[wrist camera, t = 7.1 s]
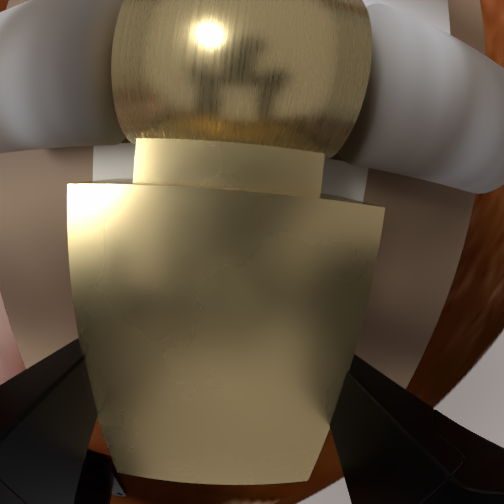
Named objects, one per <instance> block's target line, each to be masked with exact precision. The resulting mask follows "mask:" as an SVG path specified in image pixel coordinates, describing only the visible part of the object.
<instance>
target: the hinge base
mask: <svg viewBox="0 0 504 504" xmlns="http://www.w3.org/2000/svg"><path fill="white" fill-rule="evenodd" d="M123 1H124V0H9V2H8V5H7V8H6V10H5V11H2V12H0V291H1V295H2V299H3V302H4V306H5V309H6V313H7V316H8V319H9V323H10V326H11V329H12V332H13V335H14V338H15V340H16V343H17V346H18V349H19V351H20V354H21V357H22V359H23V362H24V364H25V367H26V369H27V368H29V367H31V366H32V365H34V364H36V363H37V362H39V361H41V360H42V359H44V358H45V357H47V356H49V355H50V354H52V353H54V352H55V351H57V350H59V349H60V348H62V347H64V346H65V345H67V344H69V343H70V342H72V341H74V340H75V339H77V338H79V337H78V331H77V325H76V319H75V312H74V305H73V297H72V288H71V279H70V267H69V253H68V232H67V185H68V184H70V183H79V182H87V181H97V180H107V179H118V178H119V179H133V173H134V159H135V148H136V144H133V143H131V142H130V141H129V140H128V139H127V138H126V137H125V135H124V133H123V132H122V129H121V127H120V125H119V122H118V118H117V115H116V111H115V106H114V100H113V93H112V80H111V58H112V46H113V38H114V32H115V27H116V23H117V19H118V15H119V12H120V9H121V6H122V3H123ZM363 2H364V3H365V6H366V8H367V10H368V14H369V17H370V23H371V29H372V58H371V68H370V74H369V80H368V85H367V89H366V93H365V97H364V100H363V104H362V107H361V110H360V113H359V115H358V118H357V120H356V123H355V125H354V127H353V129H352V131H351V133H350V135H349V137H348V139H347V140H346V142H345V144H344V145H343V146H342V148H341V149H340V150H339V151H338V152H337V153H336V154H335V155H334V156H332V157H331V158H328V159H324V166H323V176H322V185H321V193H324V194H332V195H337V196H341V197H345V198H349V199H353V200H357V201H362V202H365V203H369V204H373V205H377V206H381V207H385V213H384V220H383V227H382V233H381V239H380V245H379V250H378V256H377V261H376V266H375V271H374V276H373V281H372V286H371V290H370V295H369V299H368V303H367V308H366V312H365V316H364V320H363V324H362V328H361V331H360V335H359V339H358V342H357V346H356V350H355V353H354V354H355V355H357V356H358V357H360V358H361V359H363V360H364V361H365V362H367V363H368V364H370V365H371V366H373V367H374V368H375V369H377V370H378V371H380V372H381V373H383V374H384V375H386V376H387V377H388V378H390V379H391V380H393V381H394V382H396V383H397V384H399V385H400V386H402V387H403V388H404V389H406V387H407V386H408V384H409V382H410V380H411V378H412V376H413V374H414V372H415V370H416V368H417V366H418V364H419V362H420V360H421V358H422V356H423V354H424V352H425V349H426V347H427V345H428V343H429V341H430V338H431V336H432V334H433V332H434V329H435V327H436V324H437V322H438V320H439V317H440V315H441V312H442V309H443V307H444V304H445V302H446V299H447V296H448V293H449V291H450V288H451V285H452V282H453V279H454V276H455V273H456V270H457V267H458V263H459V260H460V257H461V253H462V250H463V246H464V243H465V239H466V235H467V231H468V227H469V223H470V219H471V214H472V210H473V205H474V200H475V195H476V193H479V194H481V193H488V192H490V191H493V190H495V189H497V188H499V187H501V186H502V185H503V184H504V68H502V67H501V66H499V65H498V64H497V63H495V62H494V61H492V60H491V59H489V58H488V57H486V51H485V38H484V28H483V20H482V12H481V6H480V0H363Z"/></svg>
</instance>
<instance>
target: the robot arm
mask: <svg viewBox="0 0 504 504" xmlns="http://www.w3.org/2000/svg"><path fill="white" fill-rule="evenodd" d="M97 416H98V412H97V408H96V404H95V400H94V397H93V393H92V388H91V384H90V380H89V376H88V371H87V367H86V362H85V358H84V357H83V356H82V353H81V348H80V342H79V338H77V339H75V340H74V341H72V342H70V343H69V344H67V345H65V346H64V347H62V348H60V349H59V350H57V351H55V352H54V353H52V354H50V355H49V356H47V357H45V358H44V359H42V360H41V361H39V362H37V363H36V364H34V365H32V366H31V367H29V368H27V369H26V370H24V371H22V372H21V373H19V374H18V375H16V376H14V377H13V378H11V379H9V380H8V381H6V382H5V383H3V384H1V385H0V504H110V500H111V495H112V494H113V495H118V496H123V497H124V496H126V490H125V488H124V486H123V485H122V483H121V481H120V479H119V478H118V476H117V474H116V472H115V470H114V469H113V467H112V465H111V463H110V461H109V460H108V459H107V458H105V457H103V456H100V455H96V454H92V453H88V452H87V449H88V445H89V442H90V438H91V435H92V432H93V429H94V425H95V422H96V419H97ZM330 429H331V432H332V436H333V439H334V443H335V446H336V450H337V453H338V456H339V460H340V463H341V467H342V470H343V474H344V477H345V481H346V484H347V488H348V492H349V495H350V499H351V503H352V504H504V448H502V447H500V446H498V445H496V444H494V443H492V442H490V441H488V440H486V439H485V438H483V437H481V436H479V435H477V434H475V433H473V432H471V431H469V430H468V429H466V428H464V427H462V426H461V425H459V424H457V423H456V422H454V421H452V420H451V419H449V418H448V417H446V416H445V415H443V414H442V413H440V412H439V411H437V410H434V409H433V408H432V407H431V406H430V405H428V404H427V403H425V402H424V401H422V400H421V399H419V398H418V397H416V396H415V395H413V394H412V393H410V392H409V391H407V390H406V389H404V388H403V387H402V386H400V385H399V384H397V383H396V382H394V381H393V380H391V379H390V378H388V377H387V376H386V375H384V374H383V373H381V372H380V371H378V370H377V369H375V368H374V367H373V366H371V365H370V364H368V363H367V362H365V361H364V360H363V359H361V358H360V357H358V356H357V355H355V354H354V357H353V360H352V363H351V367H350V370H349V371H348V372H347V373H346V376H345V379H344V383H343V386H342V389H341V392H340V395H339V398H338V401H337V404H336V407H335V410H334V413H333V416H332V419H331V422H330Z"/></svg>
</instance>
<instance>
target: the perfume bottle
mask: <svg viewBox="0 0 504 504" xmlns="http://www.w3.org/2000/svg"><path fill="white" fill-rule="evenodd" d="M371 58H372V29H371V23H370V17H369V14H368V10H367V8H366V6H365V3H364V2H363V0H124V1H123V3H122V6H121V9H120V12H119V15H118V19H117V23H116V27H115V32H114V38H113V46H112V58H111V80H112V93H113V100H114V106H115V111H116V115H117V118H118V122H119V125H120V127H121V129H122V132H123V133H124V135H125V137H126V138H127V139H128V140H129V141H130V142H131V143H133V144H136V148H135V159H134V173H133V179H119V178H118V179H107V180H97V181H87V182H79V183H70V184H68V185H67V232H68V253H69V267H70V279H71V288H72V297H73V305H74V312H75V319H76V325H77V331H78V337H79V342H80V348H81V353H82V356H83V357H84V358H85V362H86V367H87V371H88V376H89V380H90V384H91V388H92V393H93V397H94V400H95V404H96V408H97V412H98V420H99V423H100V426H101V429H102V432H103V435H104V438H105V441H106V444H107V447H108V449H109V452H110V455H111V457H112V460H113V463H114V465H115V468H116V470H117V472H118V473H122V474H128V475H133V476H139V477H145V478H151V479H158V480H166V481H175V482H185V483H199V484H220V485H255V484H276V483H289V482H300V481H308V479H309V477H310V474H311V472H312V470H313V468H314V465H315V463H316V461H317V458H318V456H319V454H320V451H321V449H322V446H323V444H324V441H325V439H326V436H327V434H328V431H329V428H330V422H331V419H332V416H333V413H334V410H335V407H336V404H337V401H338V398H339V395H340V392H341V389H342V386H343V383H344V379H345V376H346V373H347V372H348V371H349V370H350V367H351V363H352V360H353V357H354V353H355V350H356V346H357V342H358V339H359V335H360V331H361V328H362V324H363V320H364V316H365V312H366V308H367V303H368V299H369V295H370V290H371V286H372V281H373V276H374V271H375V266H376V261H377V256H378V250H379V245H380V239H381V233H382V227H383V220H384V213H385V207H381V206H377V205H373V204H369V203H365V202H362V201H357V200H353V199H349V198H345V197H341V196H337V195H332V194H324V193H321V185H322V176H323V166H324V159H328V158H331V157H332V156H334V155H335V154H336V153H337V152H338V151H339V150H340V149H341V148H342V146H343V145H344V144H345V142H346V140H347V139H348V137H349V135H350V133H351V131H352V129H353V127H354V125H355V123H356V120H357V118H358V115H359V113H360V110H361V107H362V104H363V100H364V97H365V93H366V89H367V85H368V80H369V74H370V68H371Z"/></svg>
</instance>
